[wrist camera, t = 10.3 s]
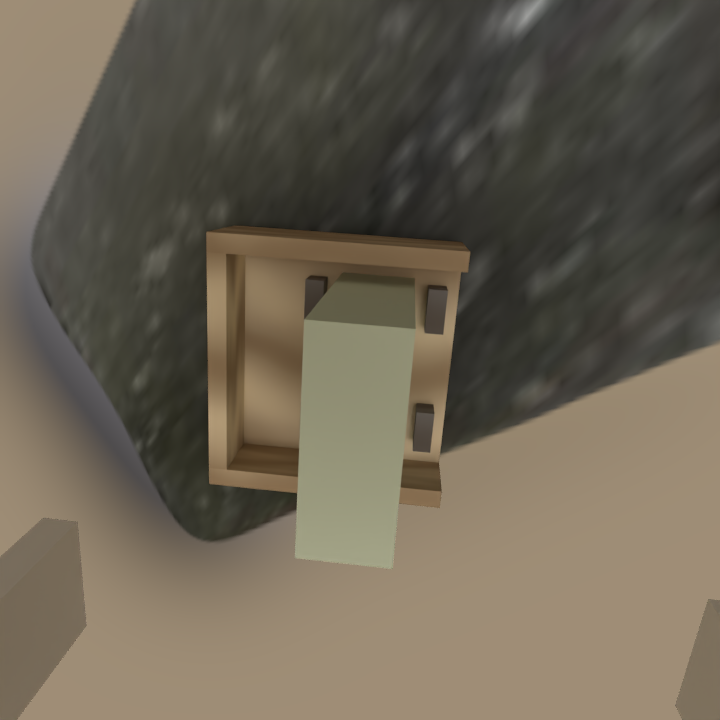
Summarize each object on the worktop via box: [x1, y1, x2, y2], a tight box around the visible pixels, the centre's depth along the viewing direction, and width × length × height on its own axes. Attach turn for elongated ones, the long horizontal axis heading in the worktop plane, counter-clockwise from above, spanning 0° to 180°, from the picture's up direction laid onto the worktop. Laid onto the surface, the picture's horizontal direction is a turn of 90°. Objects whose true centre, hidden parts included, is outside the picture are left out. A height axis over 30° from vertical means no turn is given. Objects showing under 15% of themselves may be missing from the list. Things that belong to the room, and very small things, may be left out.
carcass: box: [206, 225, 470, 508], centre depth 33 cm, size 14×13×5 cm
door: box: [295, 272, 416, 569], centre depth 28 cm, size 10×5×12 cm, turn 176°
